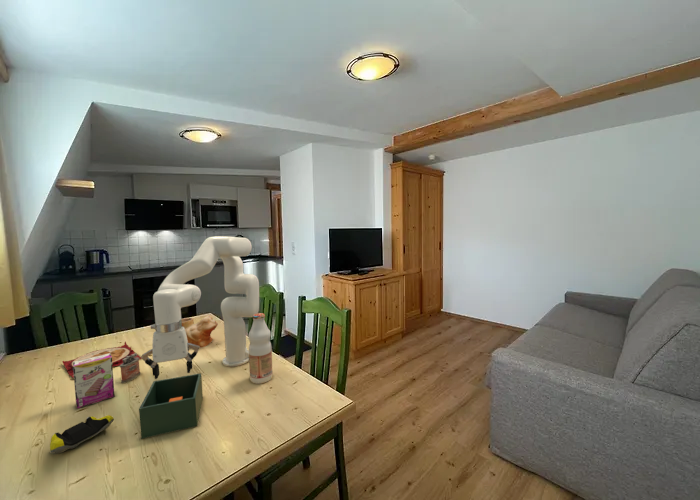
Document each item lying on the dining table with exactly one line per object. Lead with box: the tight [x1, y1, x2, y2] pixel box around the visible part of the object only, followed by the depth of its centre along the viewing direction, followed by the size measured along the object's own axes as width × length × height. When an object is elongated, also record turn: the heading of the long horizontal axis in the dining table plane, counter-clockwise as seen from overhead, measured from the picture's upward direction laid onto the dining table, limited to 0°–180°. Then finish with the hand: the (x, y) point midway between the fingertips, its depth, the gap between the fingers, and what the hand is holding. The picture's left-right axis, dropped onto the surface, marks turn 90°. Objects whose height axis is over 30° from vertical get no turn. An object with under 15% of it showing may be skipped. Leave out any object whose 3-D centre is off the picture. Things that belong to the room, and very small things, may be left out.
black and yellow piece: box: [49, 414, 115, 454], centre depth 92 cm, size 15×6×10 cm
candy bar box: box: [73, 353, 115, 410], centre depth 113 cm, size 11×5×16 cm, turn 135°
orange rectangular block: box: [169, 396, 183, 402], centre depth 103 cm, size 4×7×4 cm, turn 21°
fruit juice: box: [247, 312, 274, 385], centre depth 127 cm, size 9×9×28 cm
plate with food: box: [61, 341, 143, 379], centre depth 146 cm, size 24×26×4 cm
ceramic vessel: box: [181, 315, 219, 349], centre depth 167 cm, size 14×26×15 cm, turn 89°
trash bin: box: [138, 372, 204, 440], centre depth 103 cm, size 16×18×10 cm
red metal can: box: [119, 352, 141, 384], centre depth 130 cm, size 8×3×10 cm, turn 168°
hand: (173, 373), depth 103 cm, fingers open, 9 cm apart
